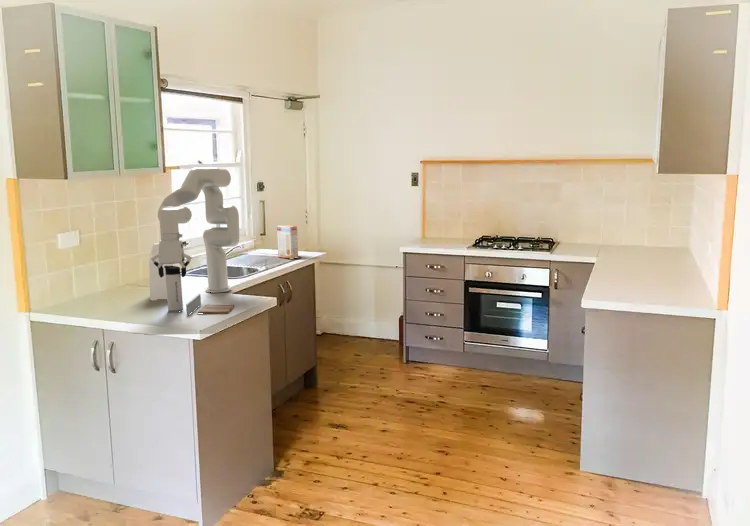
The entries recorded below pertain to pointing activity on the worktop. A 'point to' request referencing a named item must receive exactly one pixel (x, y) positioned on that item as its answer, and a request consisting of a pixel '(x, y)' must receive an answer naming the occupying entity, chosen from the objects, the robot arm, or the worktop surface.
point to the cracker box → (287, 241)
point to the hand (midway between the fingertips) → (172, 276)
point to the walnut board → (216, 309)
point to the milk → (157, 277)
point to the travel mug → (174, 288)
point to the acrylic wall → (193, 304)
